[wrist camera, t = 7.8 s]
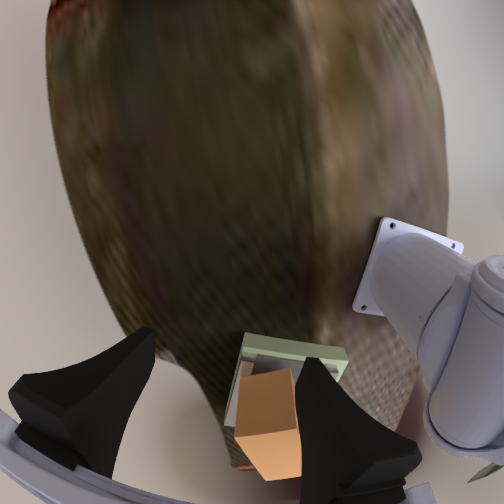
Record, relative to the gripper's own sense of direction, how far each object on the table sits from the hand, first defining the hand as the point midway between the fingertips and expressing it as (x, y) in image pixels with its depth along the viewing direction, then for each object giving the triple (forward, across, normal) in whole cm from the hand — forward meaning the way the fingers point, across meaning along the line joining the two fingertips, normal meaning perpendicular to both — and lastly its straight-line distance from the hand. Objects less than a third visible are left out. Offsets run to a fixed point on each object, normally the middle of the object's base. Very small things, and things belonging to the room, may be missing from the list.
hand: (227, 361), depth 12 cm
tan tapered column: (+6, -5, +10) cm, 12 cm away
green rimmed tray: (+9, -6, +10) cm, 15 cm away
